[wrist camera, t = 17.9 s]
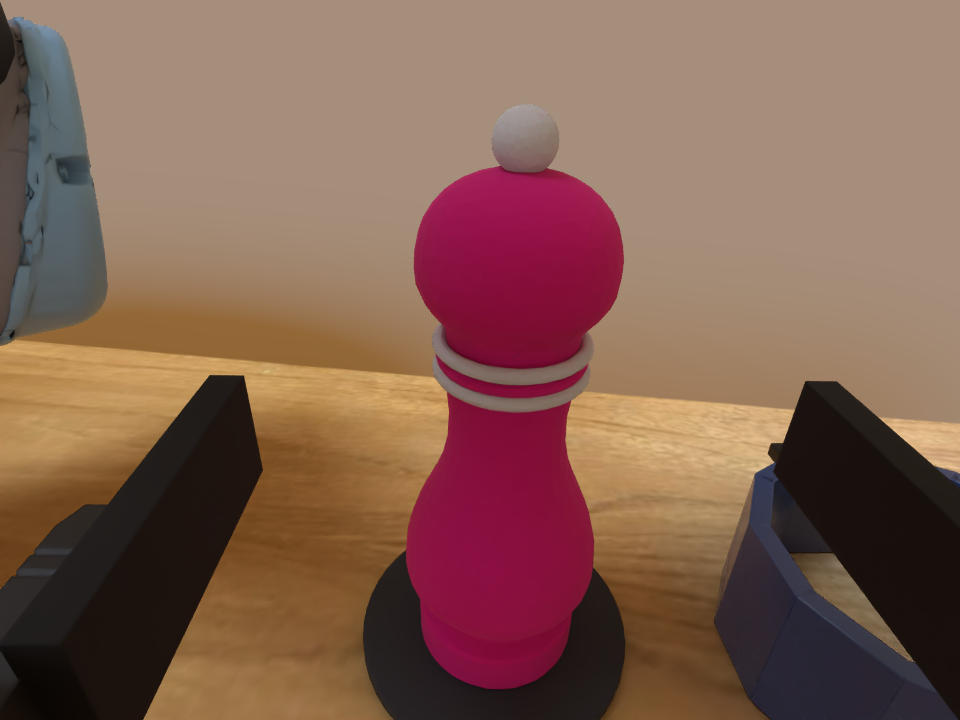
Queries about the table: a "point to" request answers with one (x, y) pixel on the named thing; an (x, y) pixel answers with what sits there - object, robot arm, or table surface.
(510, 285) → the pepper mill
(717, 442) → the table surface
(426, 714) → the coaster
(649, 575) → the table surface
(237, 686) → the table surface
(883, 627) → the table surface
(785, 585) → the pot
